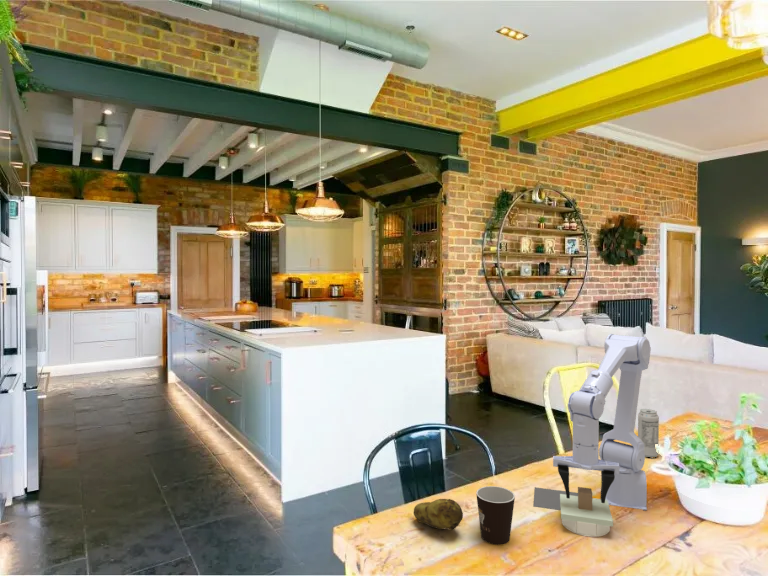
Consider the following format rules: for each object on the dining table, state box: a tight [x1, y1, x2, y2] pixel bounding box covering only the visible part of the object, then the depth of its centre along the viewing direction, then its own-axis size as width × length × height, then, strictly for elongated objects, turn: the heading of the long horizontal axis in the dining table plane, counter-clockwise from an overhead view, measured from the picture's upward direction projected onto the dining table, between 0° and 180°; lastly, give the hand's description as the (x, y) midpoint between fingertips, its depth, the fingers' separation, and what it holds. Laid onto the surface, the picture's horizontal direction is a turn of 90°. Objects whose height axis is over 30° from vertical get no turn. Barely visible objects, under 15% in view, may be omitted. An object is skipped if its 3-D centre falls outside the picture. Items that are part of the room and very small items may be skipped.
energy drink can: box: [637, 408, 660, 459], centre depth 162 cm, size 6×6×15 cm
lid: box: [560, 486, 614, 527], centre depth 117 cm, size 11×11×5 cm
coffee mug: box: [475, 485, 516, 546], centre depth 114 cm, size 12×9×10 cm
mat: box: [532, 486, 578, 511], centre depth 130 cm, size 12×12×1 cm
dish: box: [561, 519, 611, 538], centre depth 117 cm, size 10×10×3 cm
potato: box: [413, 498, 464, 531], centre depth 116 cm, size 8×13×8 cm, turn 26°
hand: (585, 498), depth 117 cm, fingers open, 7 cm apart
